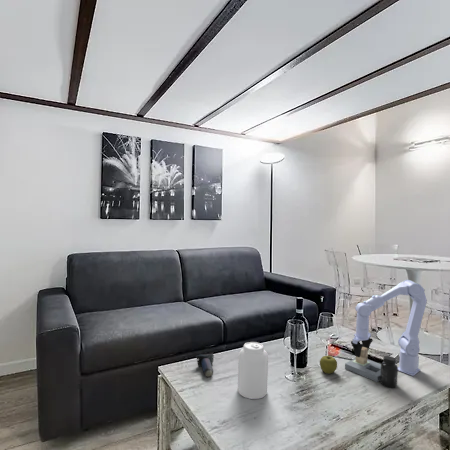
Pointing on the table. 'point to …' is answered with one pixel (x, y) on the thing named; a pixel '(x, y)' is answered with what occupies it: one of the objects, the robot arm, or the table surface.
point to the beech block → (362, 356)
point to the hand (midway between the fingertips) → (361, 354)
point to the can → (252, 371)
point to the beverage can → (206, 363)
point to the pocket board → (365, 369)
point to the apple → (328, 364)
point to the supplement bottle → (389, 372)
